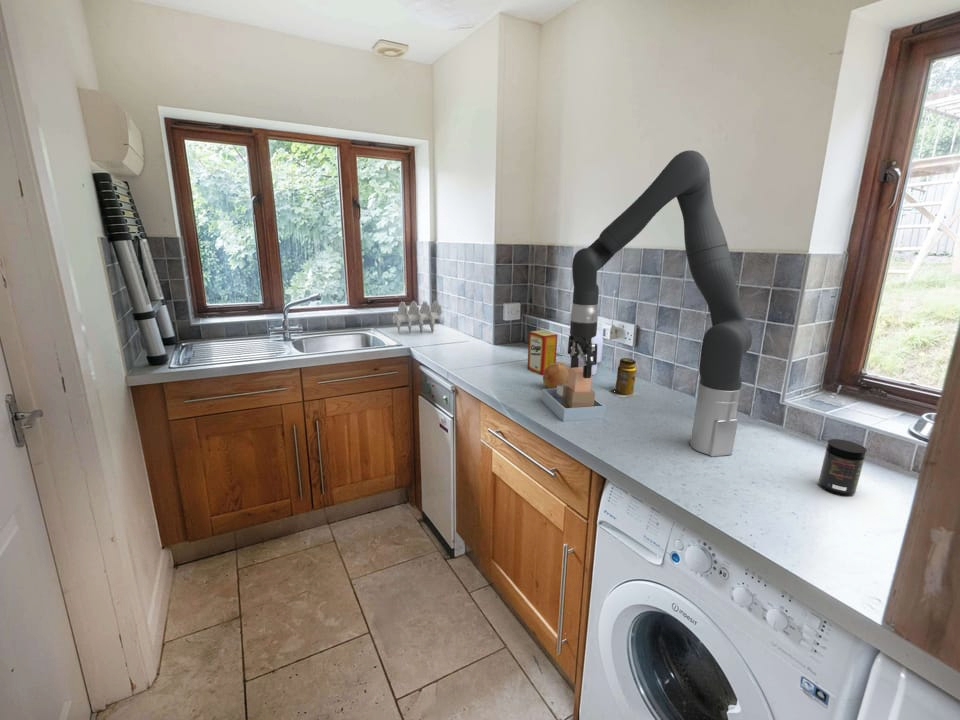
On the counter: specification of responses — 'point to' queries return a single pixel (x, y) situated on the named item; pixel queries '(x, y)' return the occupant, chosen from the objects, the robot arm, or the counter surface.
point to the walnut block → (577, 398)
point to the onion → (555, 375)
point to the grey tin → (560, 392)
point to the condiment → (625, 378)
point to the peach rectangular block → (578, 380)
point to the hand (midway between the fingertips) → (580, 373)
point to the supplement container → (842, 467)
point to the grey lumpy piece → (417, 314)
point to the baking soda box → (541, 350)
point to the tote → (572, 413)
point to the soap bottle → (599, 341)
